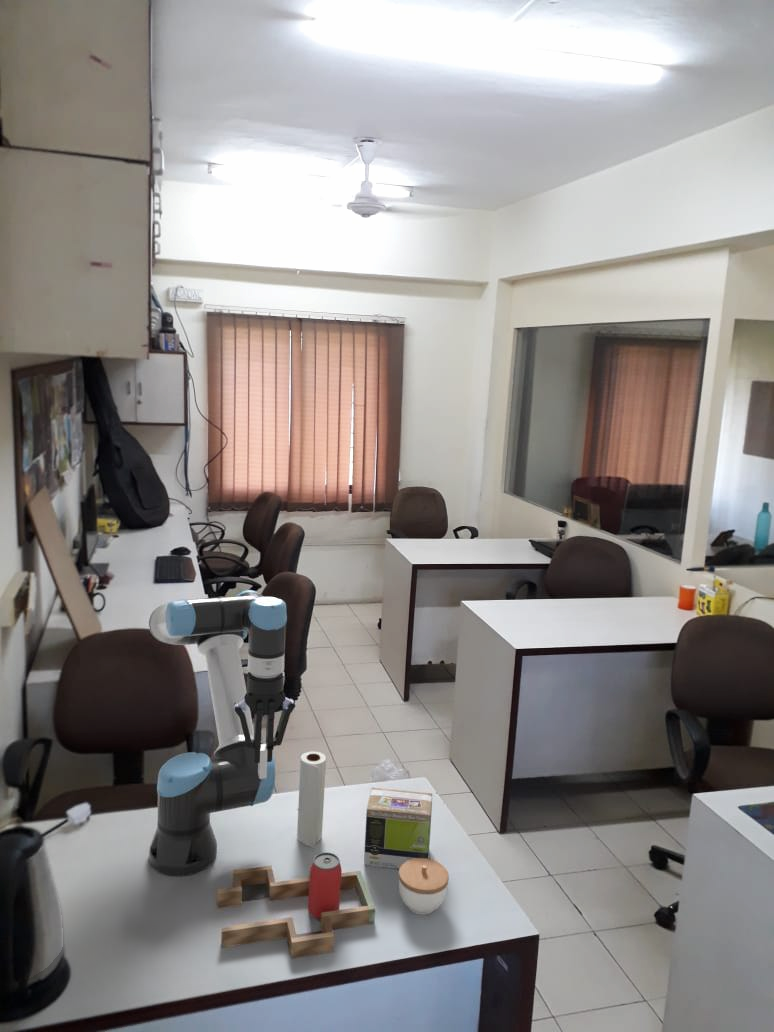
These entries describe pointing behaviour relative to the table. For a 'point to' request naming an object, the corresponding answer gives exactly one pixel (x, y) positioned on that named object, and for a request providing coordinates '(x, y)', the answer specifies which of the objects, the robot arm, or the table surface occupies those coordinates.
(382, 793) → the tea box
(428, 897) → the lidded jar
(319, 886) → the beer can
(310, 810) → the paper towel roll
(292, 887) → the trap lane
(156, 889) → the table surface
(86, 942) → the table surface
